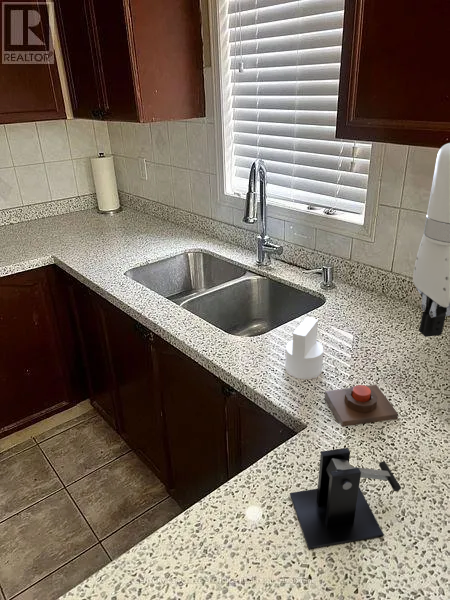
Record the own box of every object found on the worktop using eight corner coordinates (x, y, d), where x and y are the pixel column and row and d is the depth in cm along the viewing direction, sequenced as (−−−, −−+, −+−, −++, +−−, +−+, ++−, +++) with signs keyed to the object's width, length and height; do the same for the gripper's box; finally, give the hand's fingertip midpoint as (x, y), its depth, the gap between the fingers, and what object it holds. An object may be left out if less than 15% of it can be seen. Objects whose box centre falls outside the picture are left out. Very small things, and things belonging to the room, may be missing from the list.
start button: (365, 390, 96) (366, 383, 95) (372, 401, 93) (374, 394, 92) (349, 392, 96) (350, 385, 95) (356, 403, 92) (357, 396, 92)
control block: (375, 392, 101) (377, 377, 99) (397, 422, 92) (399, 407, 90) (324, 398, 100) (325, 384, 98) (341, 430, 91) (343, 414, 89)
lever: (382, 469, 73) (388, 458, 72) (397, 494, 69) (404, 483, 68) (322, 462, 70) (328, 451, 69) (334, 488, 66) (340, 476, 65)
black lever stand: (356, 488, 78) (364, 432, 72) (382, 540, 69) (394, 482, 63) (289, 498, 76) (292, 443, 71) (308, 553, 68) (313, 495, 62)
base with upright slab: (293, 354, 116) (295, 313, 110) (327, 363, 111) (330, 321, 106) (279, 373, 109) (280, 330, 103) (314, 383, 105) (317, 339, 99)
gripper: (509, 243, 61) (479, 355, 69) (445, 213, 74) (426, 311, 83) (459, 248, 60) (434, 361, 68) (403, 217, 73) (388, 315, 82)
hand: (430, 333), depth 75 cm, fingers closed
